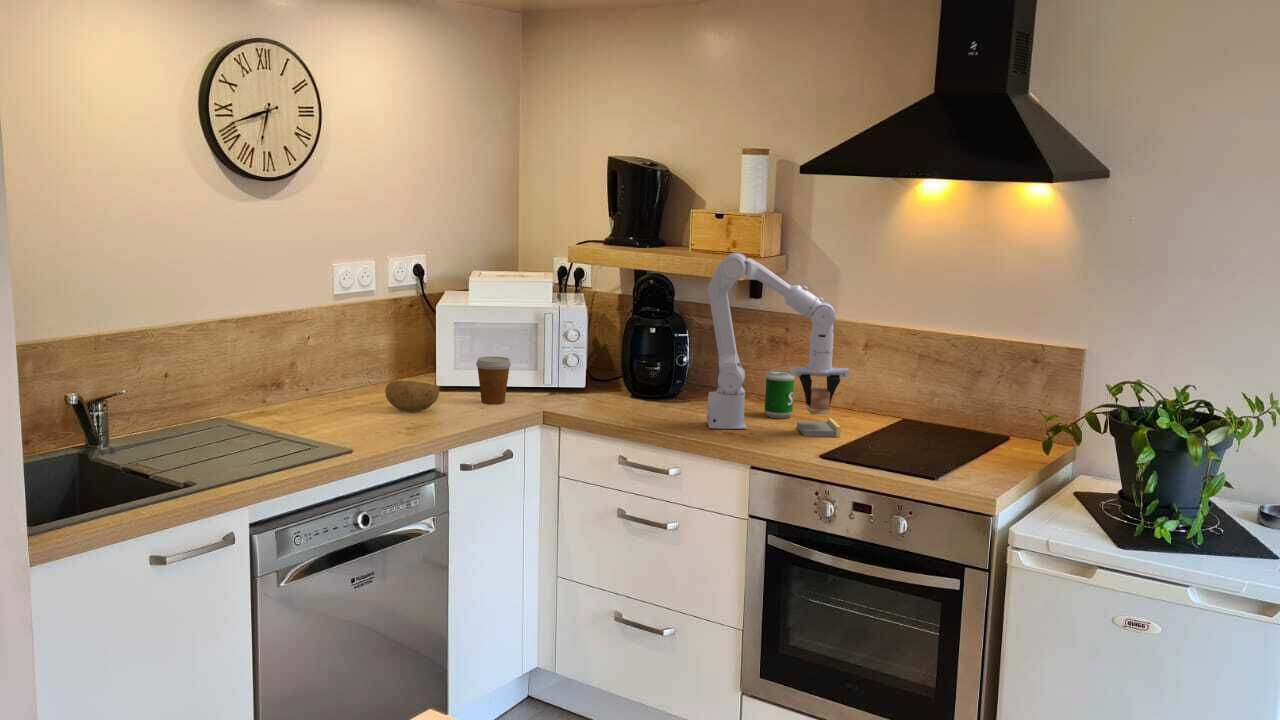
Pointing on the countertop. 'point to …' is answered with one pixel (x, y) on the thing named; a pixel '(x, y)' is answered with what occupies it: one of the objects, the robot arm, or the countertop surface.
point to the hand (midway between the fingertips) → (817, 404)
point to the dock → (820, 428)
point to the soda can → (779, 394)
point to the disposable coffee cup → (493, 378)
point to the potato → (411, 395)
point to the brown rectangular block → (819, 401)
